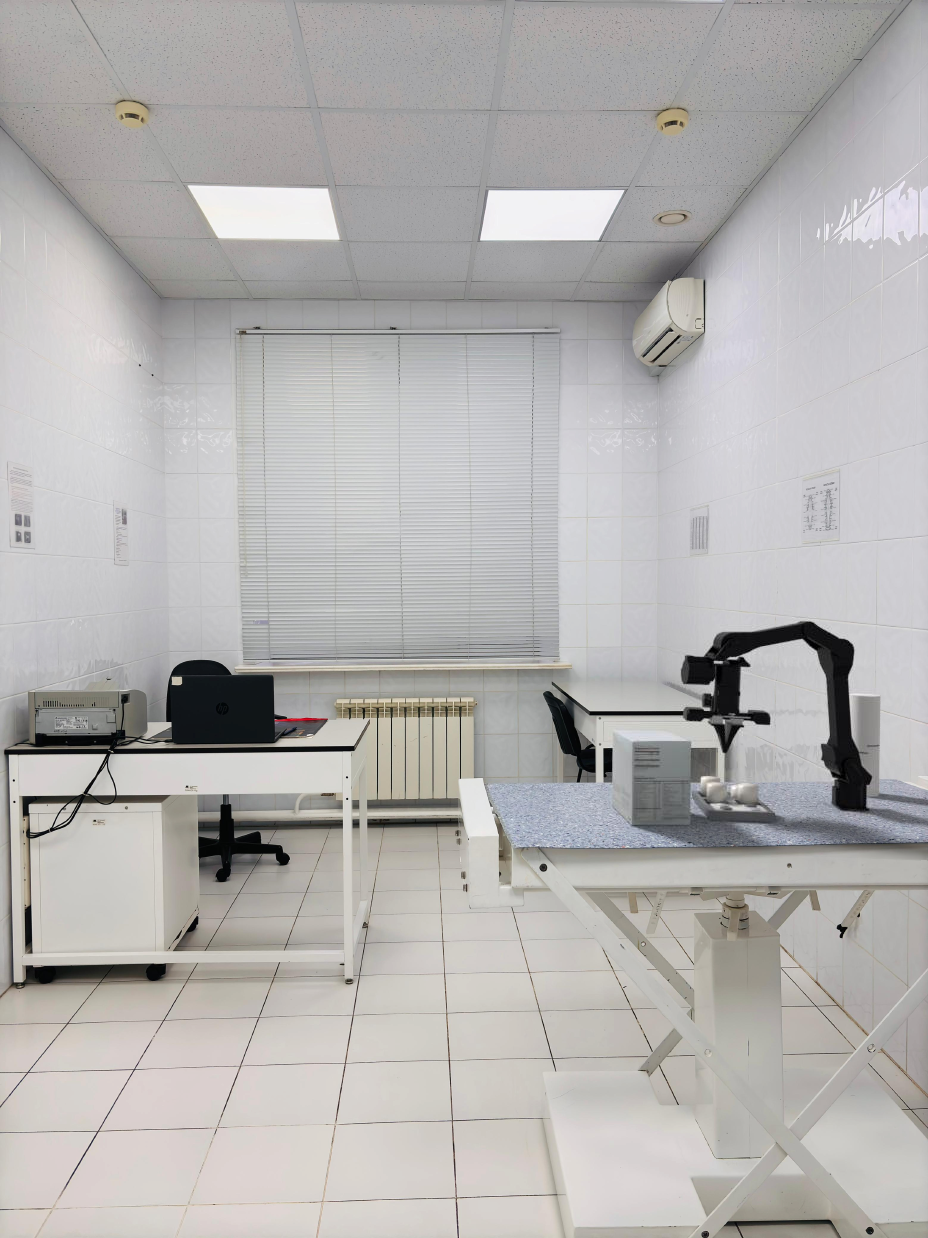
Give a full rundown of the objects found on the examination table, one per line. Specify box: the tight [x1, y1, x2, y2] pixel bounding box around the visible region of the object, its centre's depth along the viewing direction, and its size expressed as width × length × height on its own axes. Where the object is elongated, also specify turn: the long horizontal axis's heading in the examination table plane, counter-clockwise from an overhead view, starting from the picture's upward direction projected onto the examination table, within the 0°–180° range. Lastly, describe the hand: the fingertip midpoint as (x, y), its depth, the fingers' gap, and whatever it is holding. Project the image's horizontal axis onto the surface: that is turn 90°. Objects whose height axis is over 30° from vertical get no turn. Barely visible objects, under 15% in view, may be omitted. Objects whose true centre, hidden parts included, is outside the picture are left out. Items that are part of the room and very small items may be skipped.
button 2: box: [707, 782, 728, 804], centre depth 185 cm, size 4×4×4 cm
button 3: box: [730, 784, 738, 798], centre depth 192 cm, size 4×4×4 cm
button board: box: [691, 790, 776, 823], centre depth 186 cm, size 14×20×2 cm
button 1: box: [700, 775, 721, 796], centre depth 192 cm, size 4×4×4 cm
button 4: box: [737, 782, 759, 805], centre depth 185 cm, size 4×4×4 cm
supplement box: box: [611, 729, 692, 826], centre depth 180 cm, size 17×13×18 cm
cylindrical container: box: [849, 692, 881, 798], centre depth 204 cm, size 7×7×25 cm
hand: (724, 752), depth 188 cm, fingers closed
